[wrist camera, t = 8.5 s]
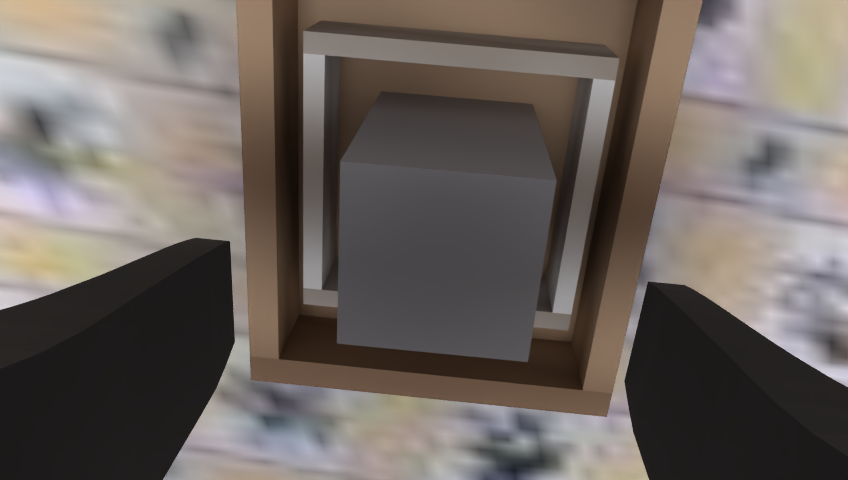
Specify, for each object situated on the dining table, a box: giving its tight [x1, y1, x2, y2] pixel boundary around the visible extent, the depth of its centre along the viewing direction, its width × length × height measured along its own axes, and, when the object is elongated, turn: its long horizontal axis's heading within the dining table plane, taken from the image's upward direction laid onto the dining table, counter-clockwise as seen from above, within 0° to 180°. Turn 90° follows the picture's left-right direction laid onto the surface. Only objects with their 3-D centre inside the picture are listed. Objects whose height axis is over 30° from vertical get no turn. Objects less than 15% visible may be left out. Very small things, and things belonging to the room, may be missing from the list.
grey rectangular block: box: [337, 91, 557, 362], centre depth 16 cm, size 4×4×6 cm
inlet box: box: [236, 0, 703, 417], centre depth 18 cm, size 12×10×3 cm
